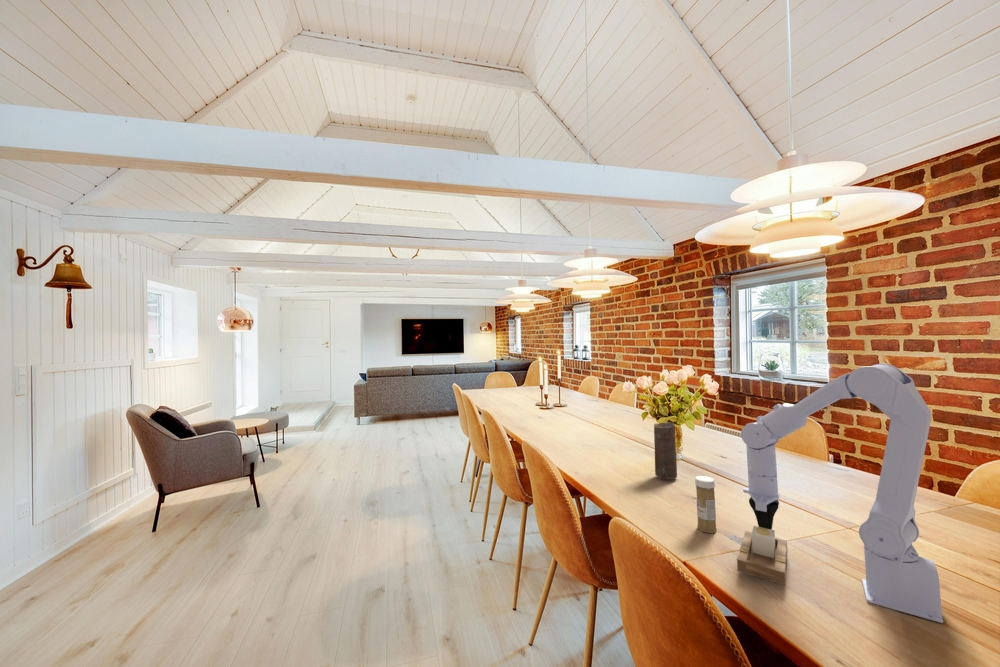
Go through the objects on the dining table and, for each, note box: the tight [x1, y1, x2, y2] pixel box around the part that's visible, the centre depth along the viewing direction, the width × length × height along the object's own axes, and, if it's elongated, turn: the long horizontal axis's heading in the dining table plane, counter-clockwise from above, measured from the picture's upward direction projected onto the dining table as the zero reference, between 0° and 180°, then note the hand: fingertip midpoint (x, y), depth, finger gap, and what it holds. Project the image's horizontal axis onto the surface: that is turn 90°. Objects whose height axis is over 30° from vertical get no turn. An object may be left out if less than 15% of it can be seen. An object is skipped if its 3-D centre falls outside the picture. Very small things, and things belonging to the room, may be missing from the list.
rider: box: [751, 525, 776, 558], centre depth 85 cm, size 5×4×4 cm
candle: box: [653, 421, 678, 480], centre depth 137 cm, size 8×7×20 cm
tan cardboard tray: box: [736, 530, 788, 585], centre depth 83 cm, size 15×8×4 cm, turn 141°
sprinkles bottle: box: [694, 475, 718, 534], centre depth 99 cm, size 5×5×14 cm
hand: (765, 531), depth 89 cm, fingers closed
